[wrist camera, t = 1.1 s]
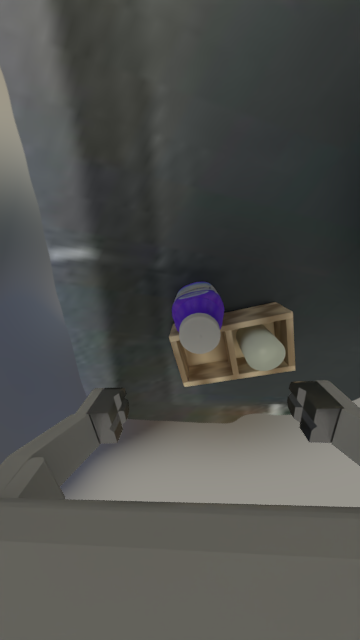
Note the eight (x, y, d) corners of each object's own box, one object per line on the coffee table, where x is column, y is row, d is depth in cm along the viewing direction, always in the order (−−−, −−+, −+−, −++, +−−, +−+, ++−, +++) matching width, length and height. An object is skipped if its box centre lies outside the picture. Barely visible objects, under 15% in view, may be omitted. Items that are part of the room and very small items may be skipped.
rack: (275, 301, 32) (292, 311, 26) (279, 352, 35) (295, 370, 30) (173, 324, 35) (168, 337, 30) (186, 367, 39) (184, 386, 33)
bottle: (212, 276, 31) (230, 299, 15) (218, 305, 33) (241, 353, 17) (174, 287, 32) (153, 319, 16) (182, 314, 34) (171, 367, 18)
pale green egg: (266, 318, 32) (284, 334, 26) (269, 346, 34) (286, 367, 28) (233, 325, 33) (243, 342, 27) (238, 351, 35) (248, 373, 29)
